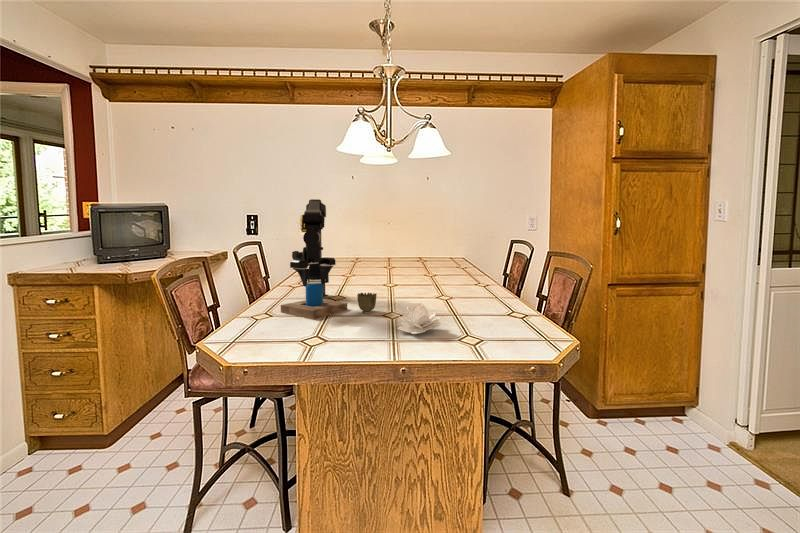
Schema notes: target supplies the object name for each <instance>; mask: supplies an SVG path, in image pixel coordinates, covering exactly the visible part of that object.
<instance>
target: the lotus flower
mask: <svg viewBox="0 0 800 533" xmlns="http://www.w3.org/2000/svg"><path fill="white" fill-rule="evenodd" d="M406 308H407V311H408V313H406V312H405V311H403V312H402V315H403V317H404V318H402V317H401V316H398V318H399V319H400V320H402V321H400V325H401V326H399V327H397V330H399V331H402V332H406V333H409V334H411V335H418V334H422V333H425V332H427V331H428V330H432V329H436V328H437V329H438V328H439V326H440V325H441V324H442V321H440V319H441V318H442V317H440V316H439V317H436V314H437V313H438V312H437V311H435V312H434V313H432V311H431V310H430V308H428V307H426V306H425V305H424V304H423V303H422V302H420V303H419V304H417V305H416V307H415V308H413V307H411V308H410V309H409V308H408V307H406Z"/></svg>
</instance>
